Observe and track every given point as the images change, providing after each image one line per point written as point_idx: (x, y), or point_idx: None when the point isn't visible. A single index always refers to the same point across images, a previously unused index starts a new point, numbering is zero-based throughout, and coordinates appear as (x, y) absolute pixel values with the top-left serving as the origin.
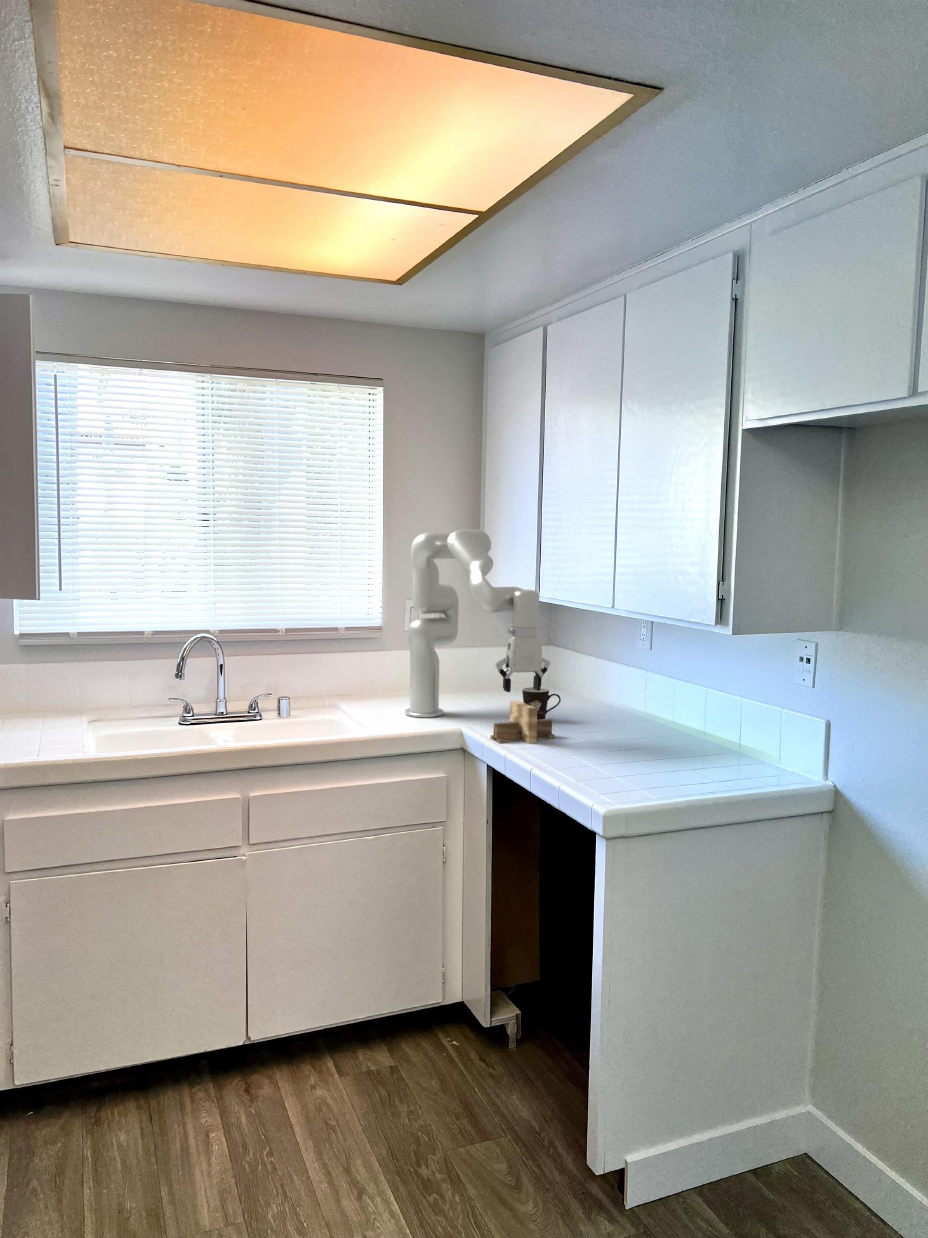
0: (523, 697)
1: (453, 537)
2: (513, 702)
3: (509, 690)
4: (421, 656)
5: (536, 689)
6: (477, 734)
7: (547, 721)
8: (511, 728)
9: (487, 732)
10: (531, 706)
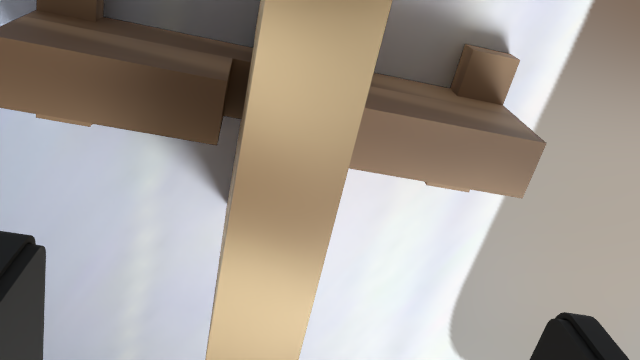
0: None
1: None
2: (302, 333)
3: (589, 325)
4: None
5: (41, 288)
6: (444, 295)
7: (43, 44)
8: (407, 104)
9: (363, 307)
10: (267, 72)
